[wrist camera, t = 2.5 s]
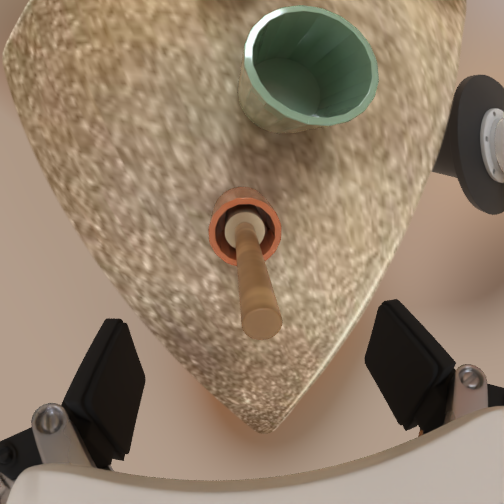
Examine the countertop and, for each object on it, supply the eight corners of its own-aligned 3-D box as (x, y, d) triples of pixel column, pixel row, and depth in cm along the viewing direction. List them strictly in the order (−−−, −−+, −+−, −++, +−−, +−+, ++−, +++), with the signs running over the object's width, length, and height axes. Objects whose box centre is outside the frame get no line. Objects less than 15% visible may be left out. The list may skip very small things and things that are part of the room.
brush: (258, 199, 26) (305, 286, 10) (258, 231, 27) (299, 351, 11) (224, 200, 25) (217, 292, 10) (226, 232, 27) (224, 357, 11)
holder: (270, 186, 26) (281, 196, 20) (270, 240, 28) (280, 265, 22) (211, 187, 25) (206, 199, 20) (214, 243, 27) (211, 268, 22)
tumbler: (321, 59, 21) (372, 19, 11) (323, 135, 24) (380, 132, 14) (237, 54, 21) (243, 1, 10) (238, 133, 24) (245, 123, 13)
